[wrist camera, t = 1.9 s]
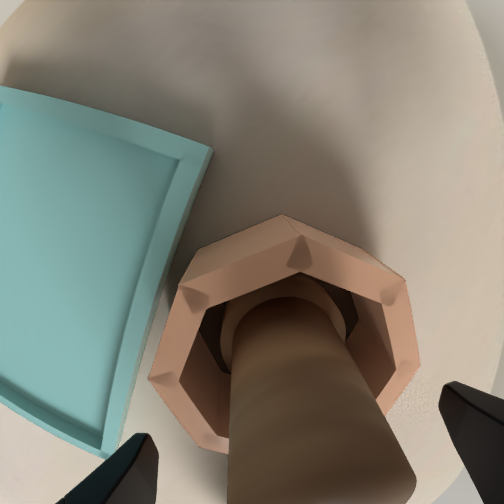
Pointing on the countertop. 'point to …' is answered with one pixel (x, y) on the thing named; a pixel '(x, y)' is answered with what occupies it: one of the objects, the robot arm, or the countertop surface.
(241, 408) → the pestle
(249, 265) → the mortar
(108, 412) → the tray
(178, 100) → the countertop surface
